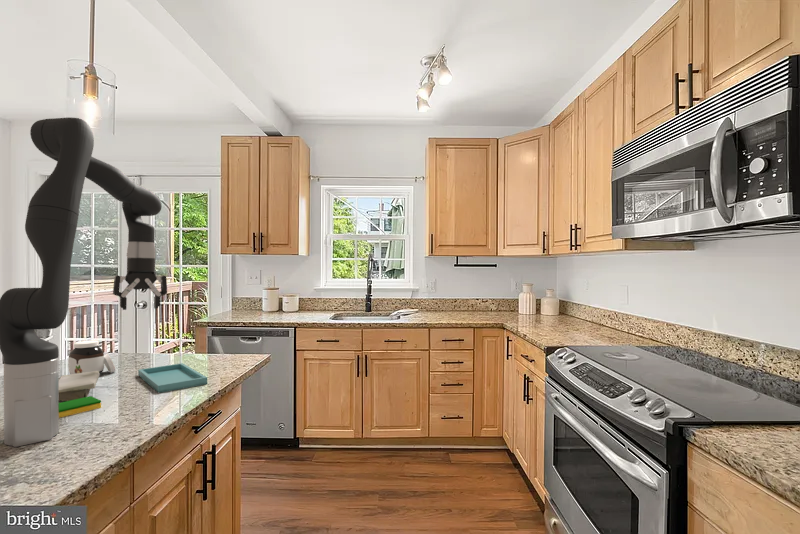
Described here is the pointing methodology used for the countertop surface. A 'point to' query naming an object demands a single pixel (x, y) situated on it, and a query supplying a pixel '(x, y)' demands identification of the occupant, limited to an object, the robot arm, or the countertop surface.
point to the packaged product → (77, 385)
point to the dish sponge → (78, 406)
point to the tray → (172, 377)
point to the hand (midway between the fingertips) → (140, 309)
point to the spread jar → (88, 358)
